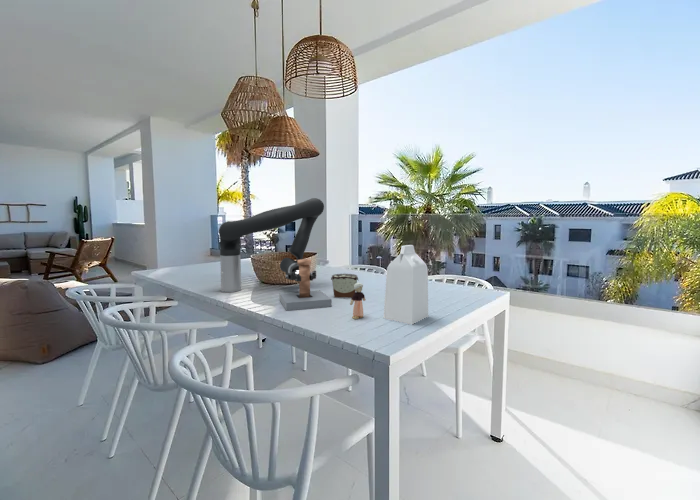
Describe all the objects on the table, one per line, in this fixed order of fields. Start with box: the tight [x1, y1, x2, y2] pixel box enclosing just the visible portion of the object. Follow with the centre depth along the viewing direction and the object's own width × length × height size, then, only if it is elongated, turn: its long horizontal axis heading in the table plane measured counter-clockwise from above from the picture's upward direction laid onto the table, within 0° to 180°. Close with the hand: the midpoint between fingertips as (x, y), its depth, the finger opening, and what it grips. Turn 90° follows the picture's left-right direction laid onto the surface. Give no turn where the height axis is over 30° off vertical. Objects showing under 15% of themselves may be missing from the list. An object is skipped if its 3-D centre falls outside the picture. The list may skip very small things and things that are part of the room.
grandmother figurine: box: [349, 281, 366, 320], centre depth 126 cm, size 8×4×13 cm, turn 148°
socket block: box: [278, 289, 333, 311], centre depth 146 cm, size 18×18×3 cm
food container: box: [330, 273, 359, 299], centre depth 158 cm, size 12×6×10 cm, turn 84°
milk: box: [383, 244, 429, 325], centre depth 125 cm, size 12×12×26 cm
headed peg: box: [296, 258, 312, 298], centre depth 145 cm, size 6×6×16 cm
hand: (306, 278), depth 143 cm, fingers closed on headed peg, 4 cm apart
